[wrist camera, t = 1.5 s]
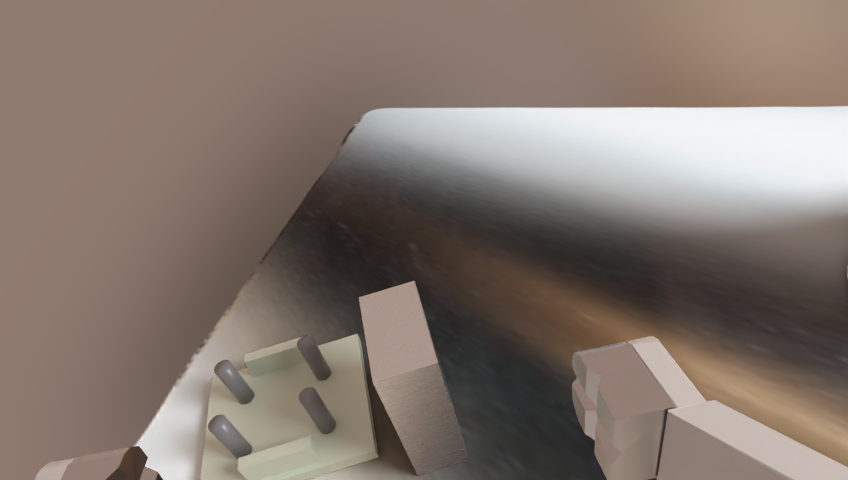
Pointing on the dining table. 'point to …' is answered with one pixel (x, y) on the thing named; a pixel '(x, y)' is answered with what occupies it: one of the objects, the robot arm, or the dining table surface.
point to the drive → (411, 378)
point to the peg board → (289, 413)
